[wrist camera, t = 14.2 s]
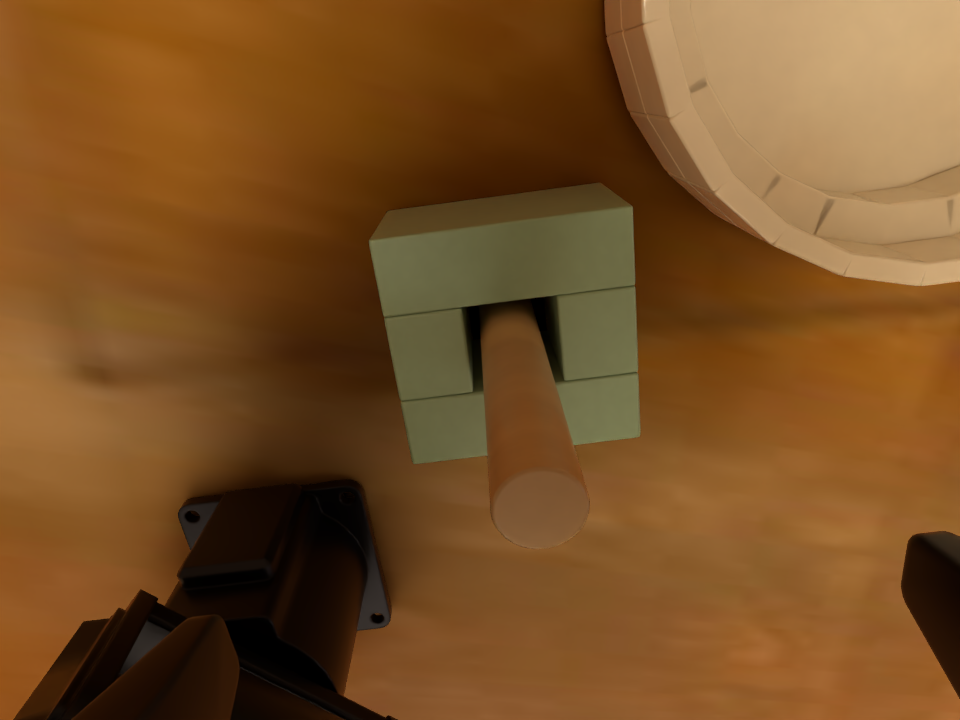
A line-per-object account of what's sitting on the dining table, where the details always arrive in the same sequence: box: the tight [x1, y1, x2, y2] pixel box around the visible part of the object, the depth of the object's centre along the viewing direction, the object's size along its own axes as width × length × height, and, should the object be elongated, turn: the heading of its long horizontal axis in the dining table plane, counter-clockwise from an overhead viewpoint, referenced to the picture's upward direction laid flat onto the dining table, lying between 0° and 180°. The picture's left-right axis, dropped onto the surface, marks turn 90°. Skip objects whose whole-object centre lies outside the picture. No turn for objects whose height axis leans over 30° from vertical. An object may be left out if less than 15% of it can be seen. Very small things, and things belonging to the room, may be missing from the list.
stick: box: [479, 299, 590, 549], centre depth 15 cm, size 2×2×11 cm
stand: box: [369, 183, 641, 464], centre depth 19 cm, size 6×6×4 cm
